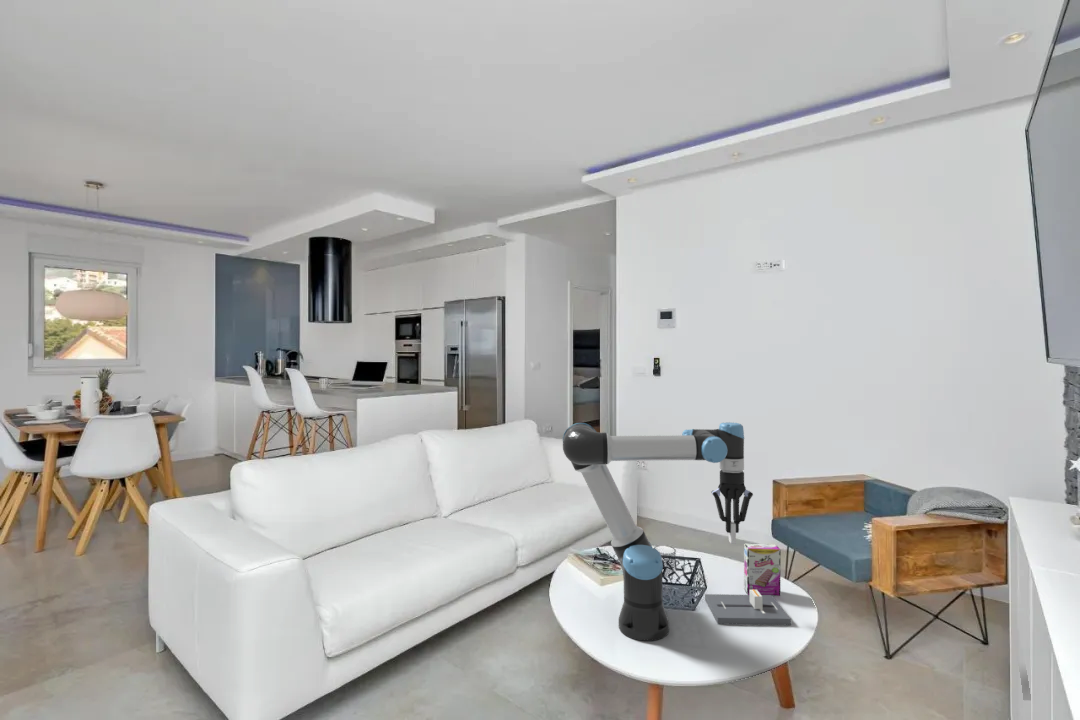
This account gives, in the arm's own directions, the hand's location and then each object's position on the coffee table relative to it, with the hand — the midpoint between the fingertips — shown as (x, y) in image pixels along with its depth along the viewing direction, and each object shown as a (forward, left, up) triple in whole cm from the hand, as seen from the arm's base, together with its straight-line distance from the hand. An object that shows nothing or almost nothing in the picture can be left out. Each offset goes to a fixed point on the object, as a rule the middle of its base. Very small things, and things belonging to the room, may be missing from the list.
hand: (732, 542), depth 173 cm
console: (+3, -3, -22) cm, 22 cm away
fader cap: (+6, -3, -19) cm, 21 cm away
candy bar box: (+13, +11, -22) cm, 28 cm away
